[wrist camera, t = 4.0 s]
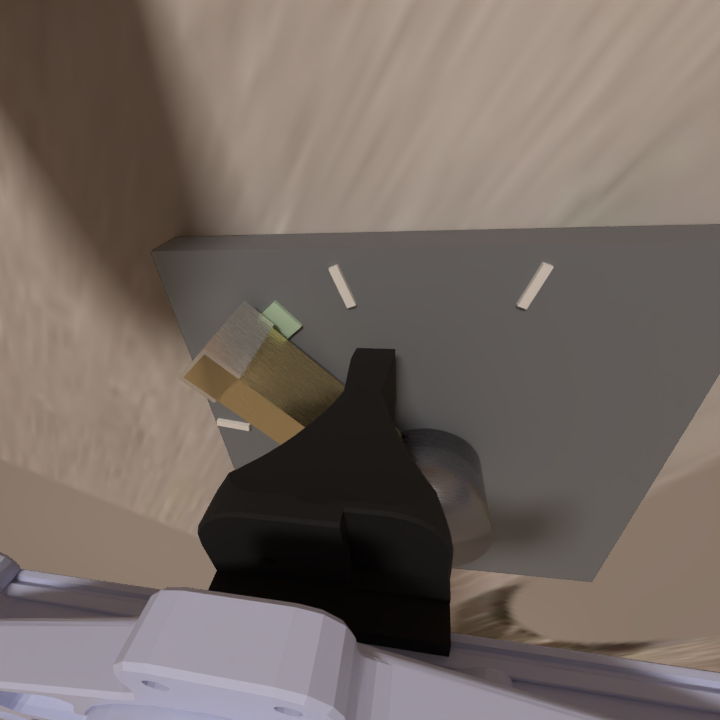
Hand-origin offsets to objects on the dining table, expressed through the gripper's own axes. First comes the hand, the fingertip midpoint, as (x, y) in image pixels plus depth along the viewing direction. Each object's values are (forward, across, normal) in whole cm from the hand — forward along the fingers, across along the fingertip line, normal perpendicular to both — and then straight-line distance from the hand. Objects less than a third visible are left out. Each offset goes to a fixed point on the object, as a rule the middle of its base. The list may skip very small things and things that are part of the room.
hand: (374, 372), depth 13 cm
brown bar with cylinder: (0, +1, +2) cm, 2 cm away
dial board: (+2, -2, +5) cm, 6 cm away
